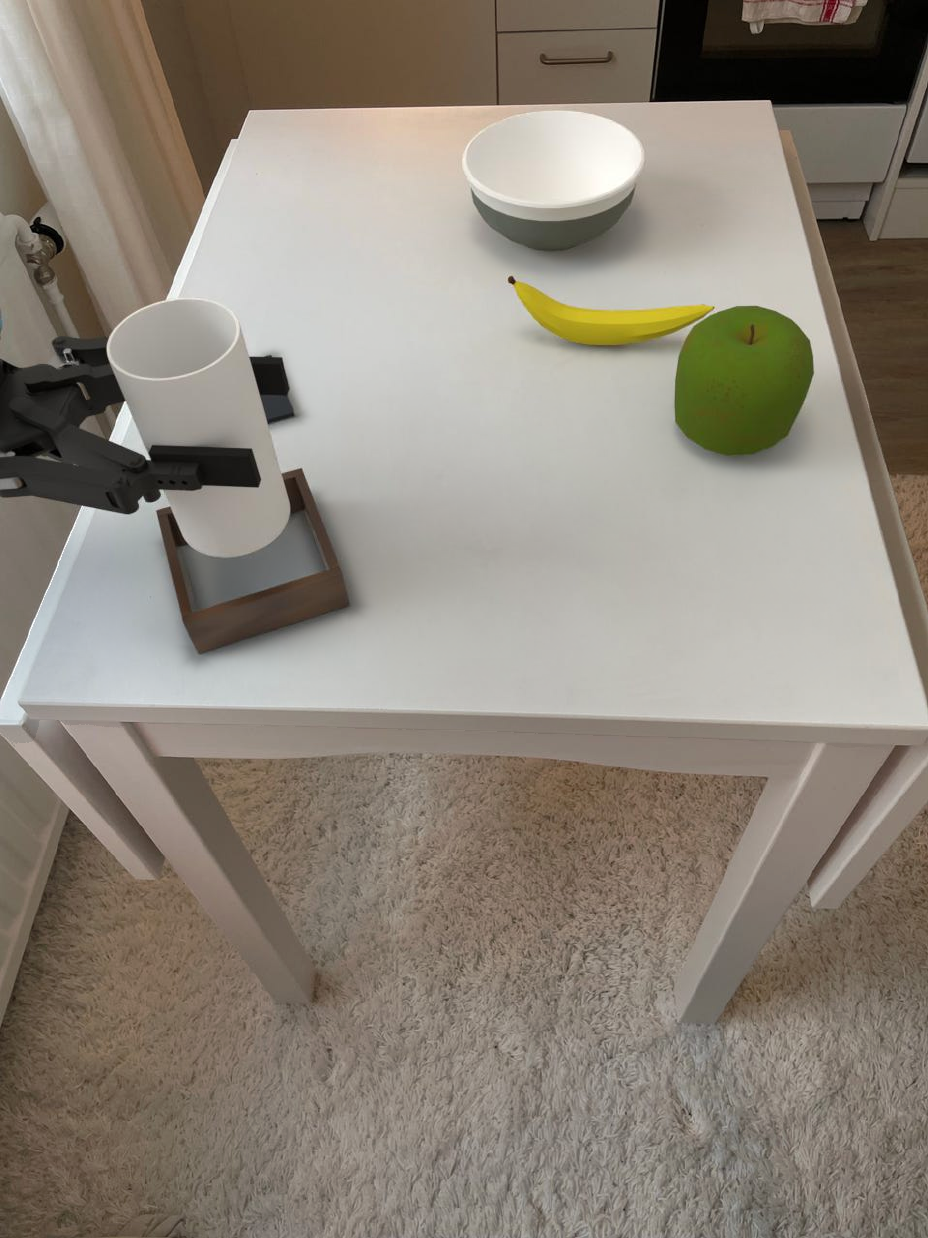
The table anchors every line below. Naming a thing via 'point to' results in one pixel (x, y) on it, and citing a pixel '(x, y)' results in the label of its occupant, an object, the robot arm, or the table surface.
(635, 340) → the banana
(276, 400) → the pad
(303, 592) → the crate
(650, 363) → the table surface
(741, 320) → the apple
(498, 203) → the bowl
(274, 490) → the cup
